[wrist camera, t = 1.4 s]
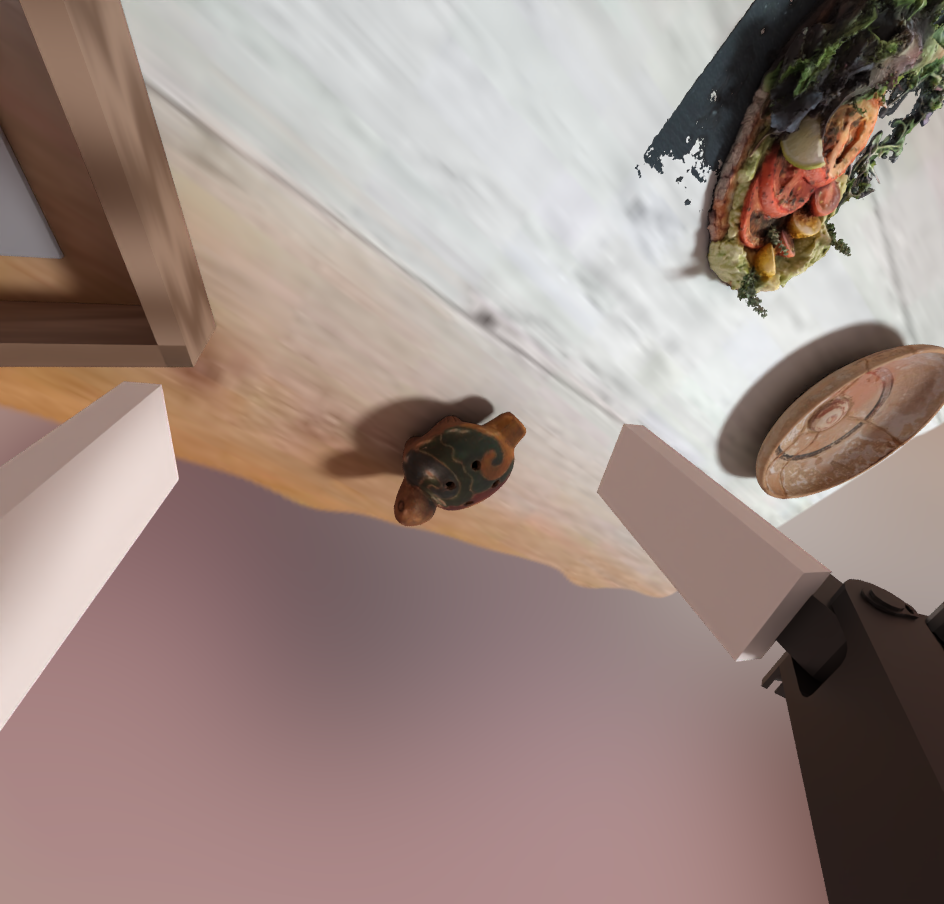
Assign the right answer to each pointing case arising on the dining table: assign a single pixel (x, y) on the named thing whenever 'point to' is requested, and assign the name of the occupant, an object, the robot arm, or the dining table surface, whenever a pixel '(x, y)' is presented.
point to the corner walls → (113, 207)
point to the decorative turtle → (455, 466)
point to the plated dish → (801, 125)
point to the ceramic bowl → (851, 420)
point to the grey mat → (21, 213)
